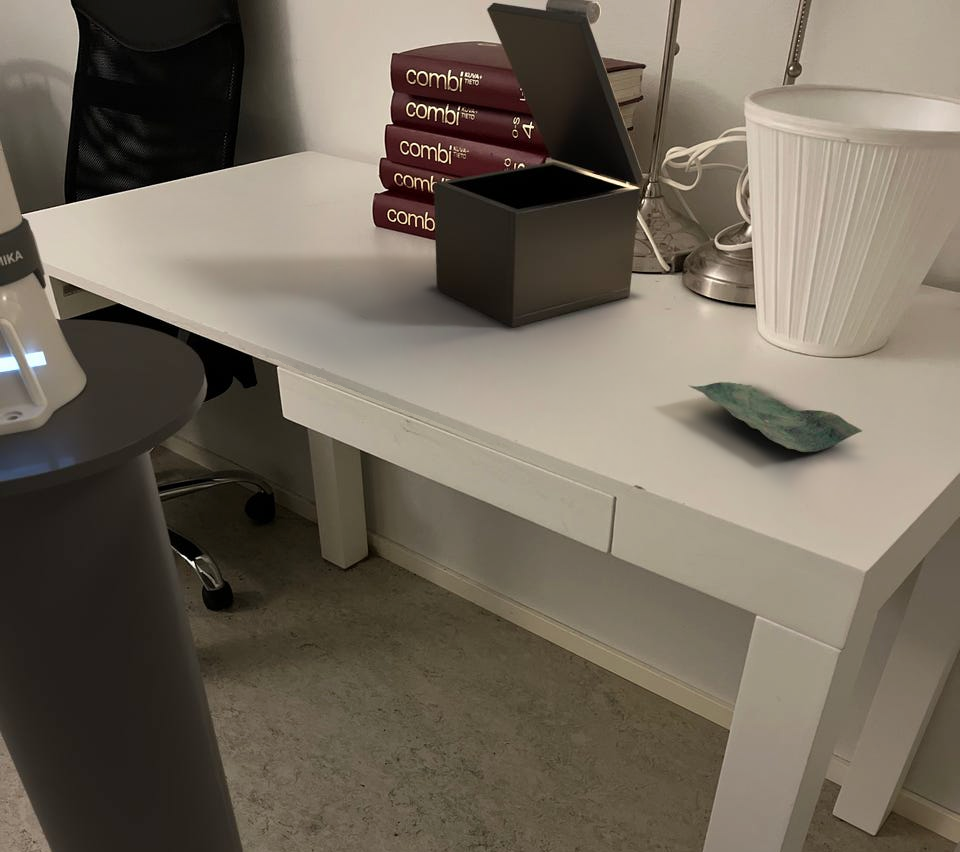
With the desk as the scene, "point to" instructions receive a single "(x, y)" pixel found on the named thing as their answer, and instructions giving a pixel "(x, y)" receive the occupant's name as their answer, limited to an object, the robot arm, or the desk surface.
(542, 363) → the desk surface
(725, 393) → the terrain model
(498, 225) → the black box
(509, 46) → the box lid
